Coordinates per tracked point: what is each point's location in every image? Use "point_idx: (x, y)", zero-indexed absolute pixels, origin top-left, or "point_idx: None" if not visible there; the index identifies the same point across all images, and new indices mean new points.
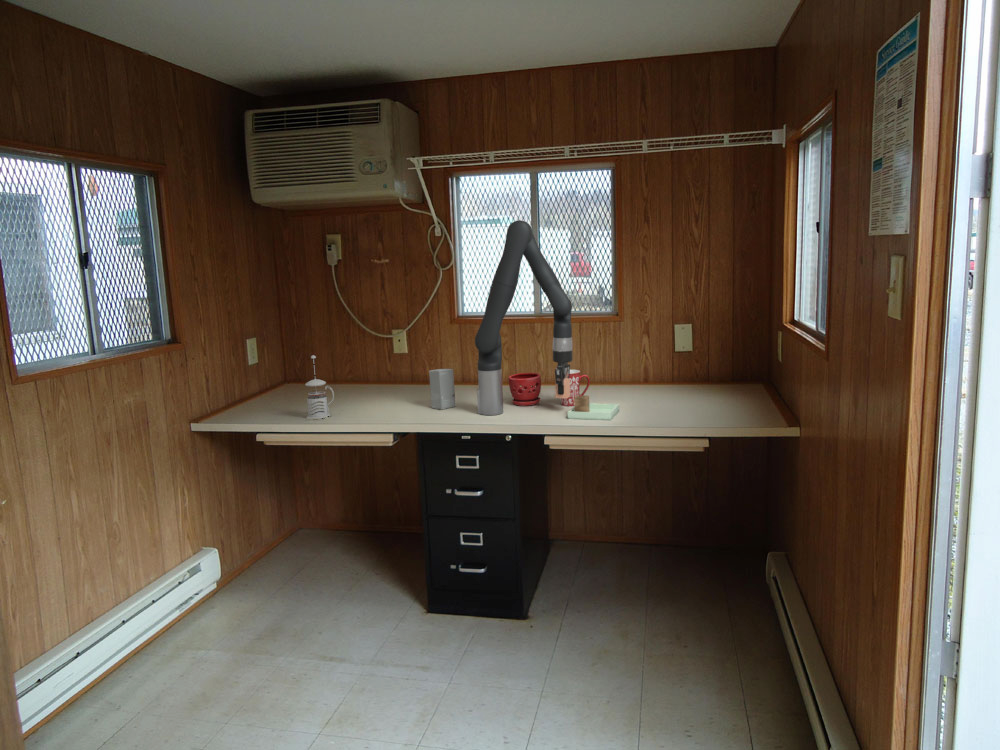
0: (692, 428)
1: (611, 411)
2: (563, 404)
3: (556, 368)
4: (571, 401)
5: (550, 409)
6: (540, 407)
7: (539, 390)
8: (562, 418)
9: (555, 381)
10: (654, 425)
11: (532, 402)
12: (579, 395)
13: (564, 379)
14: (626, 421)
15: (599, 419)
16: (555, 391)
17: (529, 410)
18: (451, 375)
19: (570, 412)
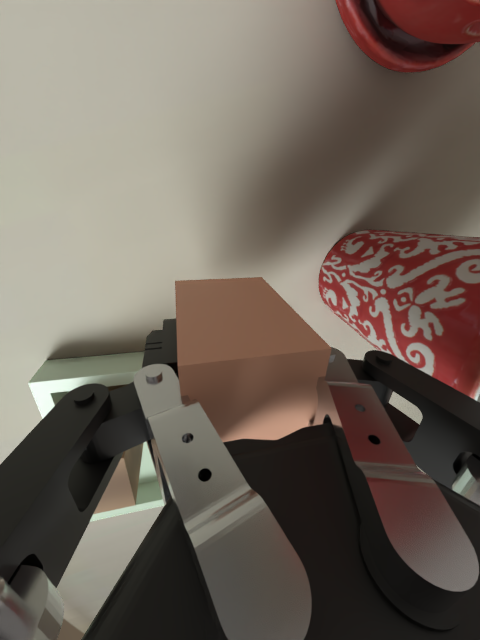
0: (83, 628)
1: (120, 512)
2: (332, 252)
3: (210, 604)
4: (329, 301)
5: (243, 202)
6: (292, 113)
7: (464, 34)
8: (42, 334)
9: (177, 353)
10: (78, 582)
11: (344, 14)
12: (125, 467)
13: (237, 436)
14: (98, 526)
15: None
16: (176, 300)
17: (193, 37)
18: None
19: (35, 394)
